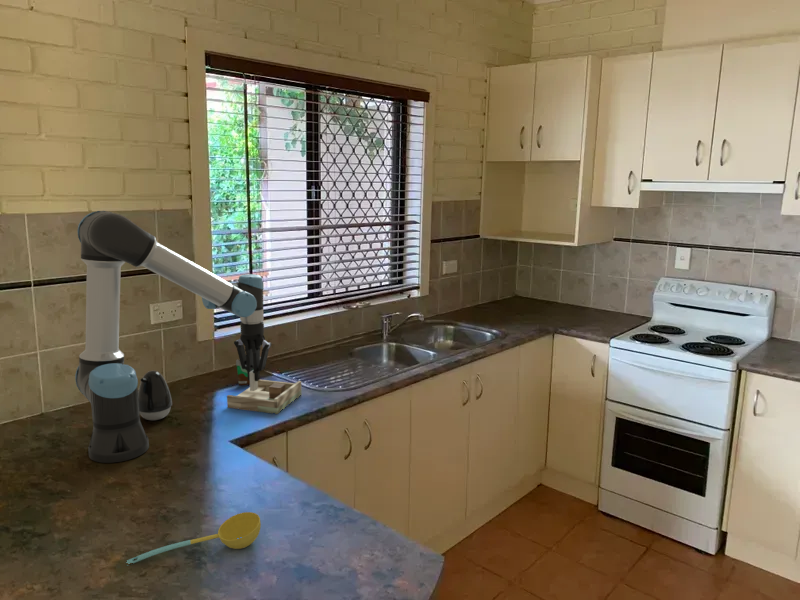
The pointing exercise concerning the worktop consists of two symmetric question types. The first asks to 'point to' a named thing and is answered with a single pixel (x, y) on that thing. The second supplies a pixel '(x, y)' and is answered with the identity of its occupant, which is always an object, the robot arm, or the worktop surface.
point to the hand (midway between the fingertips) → (254, 389)
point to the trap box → (265, 397)
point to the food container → (242, 375)
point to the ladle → (221, 535)
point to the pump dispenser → (154, 396)
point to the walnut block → (276, 390)
